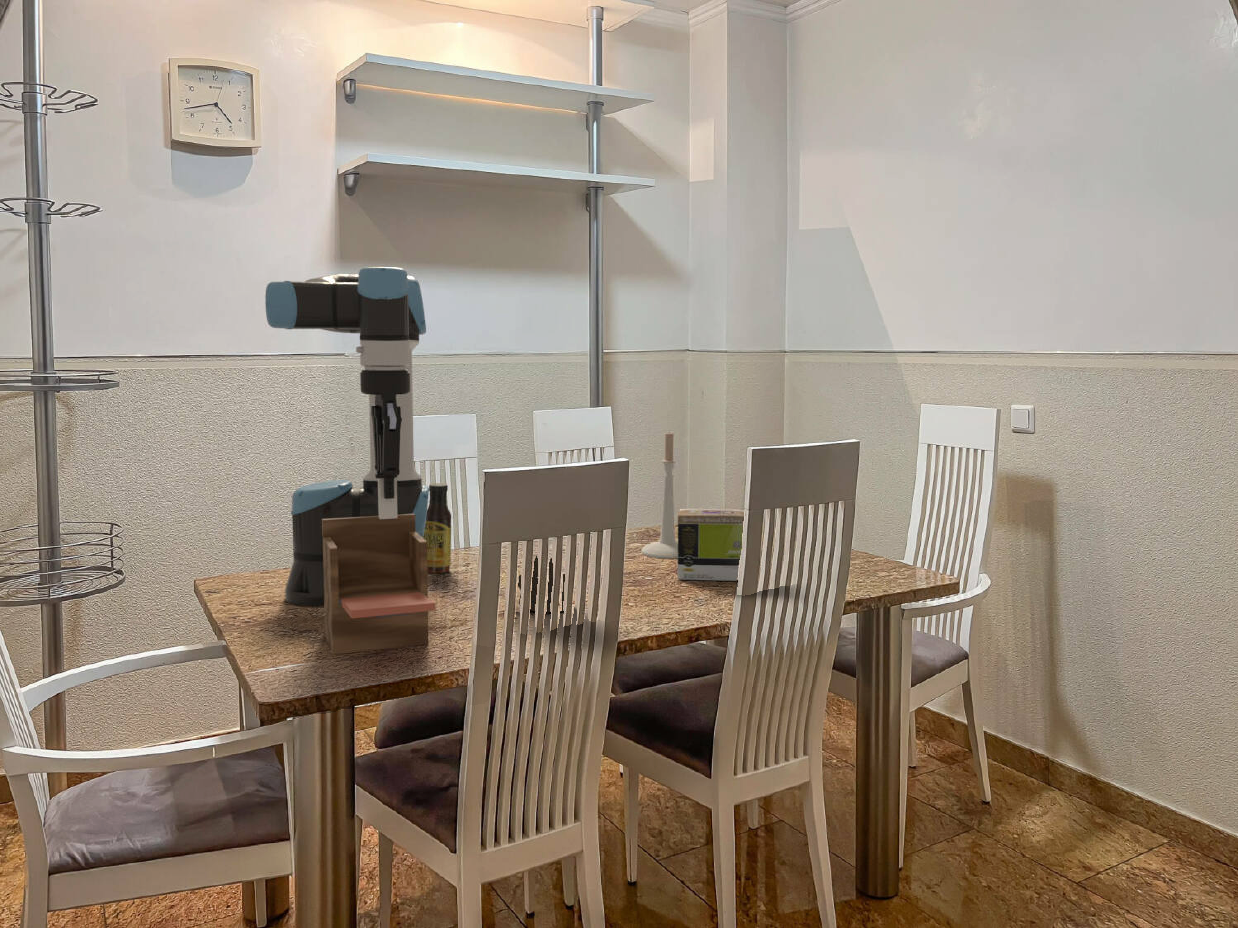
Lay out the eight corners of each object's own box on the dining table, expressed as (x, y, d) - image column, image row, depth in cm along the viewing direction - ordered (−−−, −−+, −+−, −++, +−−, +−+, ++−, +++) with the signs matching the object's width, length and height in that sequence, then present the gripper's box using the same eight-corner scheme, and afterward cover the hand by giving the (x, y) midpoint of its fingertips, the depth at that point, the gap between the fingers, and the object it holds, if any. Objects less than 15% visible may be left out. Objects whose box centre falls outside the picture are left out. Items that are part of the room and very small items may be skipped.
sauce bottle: (417, 573, 226) (416, 485, 223) (431, 567, 231) (430, 481, 229) (443, 576, 223) (442, 487, 221) (457, 569, 229) (456, 483, 227)
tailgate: (339, 598, 168) (349, 610, 156) (420, 591, 173) (437, 602, 161) (339, 608, 168) (350, 621, 156) (421, 601, 173) (437, 613, 161)
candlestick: (704, 553, 249) (706, 431, 245) (668, 561, 240) (670, 435, 236) (666, 545, 258) (668, 427, 254) (630, 552, 249) (631, 430, 245)
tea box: (744, 572, 230) (746, 507, 228) (745, 582, 220) (747, 515, 218) (678, 569, 232) (679, 506, 230) (676, 580, 222) (677, 514, 220)
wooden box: (325, 636, 179) (321, 519, 176) (415, 626, 185) (413, 513, 182) (332, 654, 169) (329, 530, 166) (428, 644, 175) (426, 524, 172)
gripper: (354, 366, 162) (357, 512, 165) (366, 370, 150) (370, 526, 153) (401, 366, 165) (404, 509, 168) (417, 370, 153) (420, 523, 156)
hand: (388, 517), depth 160 cm, fingers closed
